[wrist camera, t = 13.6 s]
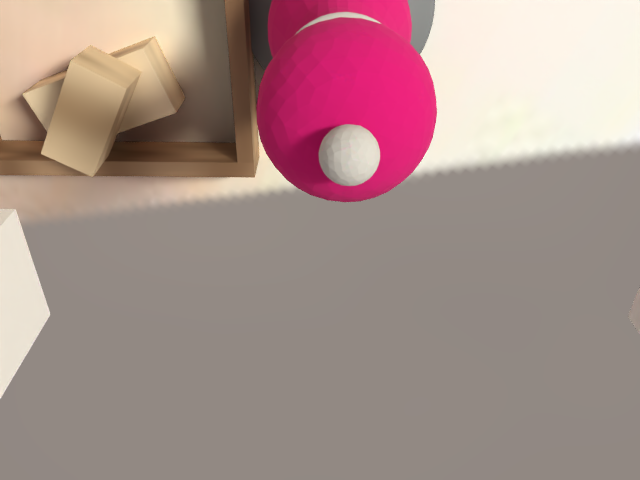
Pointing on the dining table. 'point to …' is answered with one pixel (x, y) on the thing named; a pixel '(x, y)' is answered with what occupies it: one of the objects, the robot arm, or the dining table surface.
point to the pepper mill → (344, 97)
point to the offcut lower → (148, 98)
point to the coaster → (259, 6)
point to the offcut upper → (90, 110)
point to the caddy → (173, 155)
